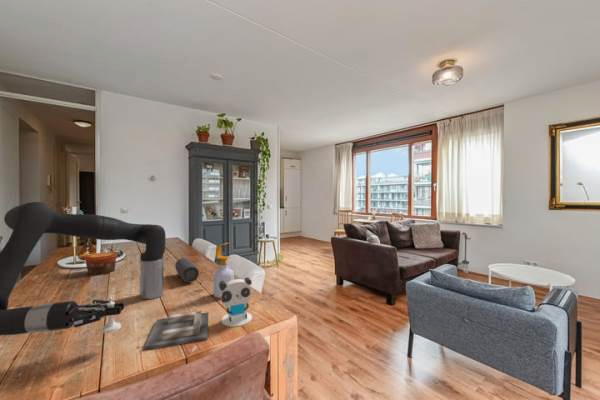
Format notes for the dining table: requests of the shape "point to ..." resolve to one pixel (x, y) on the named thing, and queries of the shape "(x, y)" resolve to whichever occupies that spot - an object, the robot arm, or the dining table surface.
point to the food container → (100, 263)
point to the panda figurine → (236, 301)
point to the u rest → (178, 330)
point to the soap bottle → (221, 272)
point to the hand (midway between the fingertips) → (122, 308)
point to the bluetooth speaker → (186, 270)
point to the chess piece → (111, 320)
